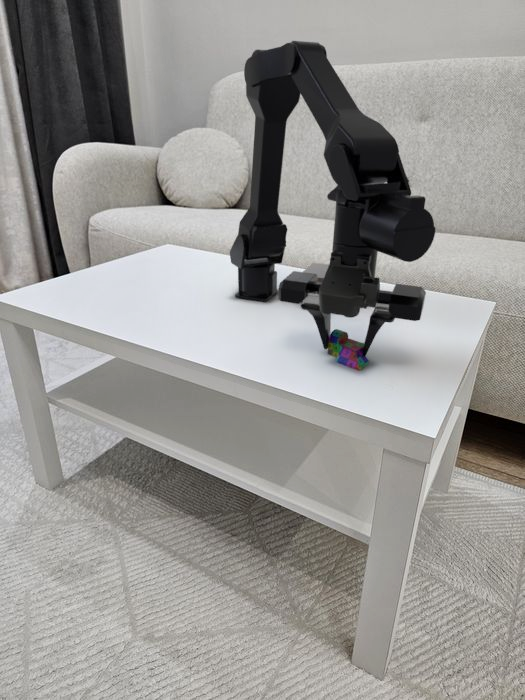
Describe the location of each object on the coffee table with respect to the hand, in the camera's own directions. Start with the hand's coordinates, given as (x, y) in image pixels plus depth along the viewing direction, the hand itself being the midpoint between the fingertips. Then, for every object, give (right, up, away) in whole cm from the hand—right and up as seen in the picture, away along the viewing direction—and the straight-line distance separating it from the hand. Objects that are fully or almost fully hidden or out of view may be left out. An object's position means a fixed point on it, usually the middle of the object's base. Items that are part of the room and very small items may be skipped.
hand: (345, 351), depth 67 cm
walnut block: (+1, +10, +23) cm, 26 cm away
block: (0, -1, 0) cm, 1 cm away
